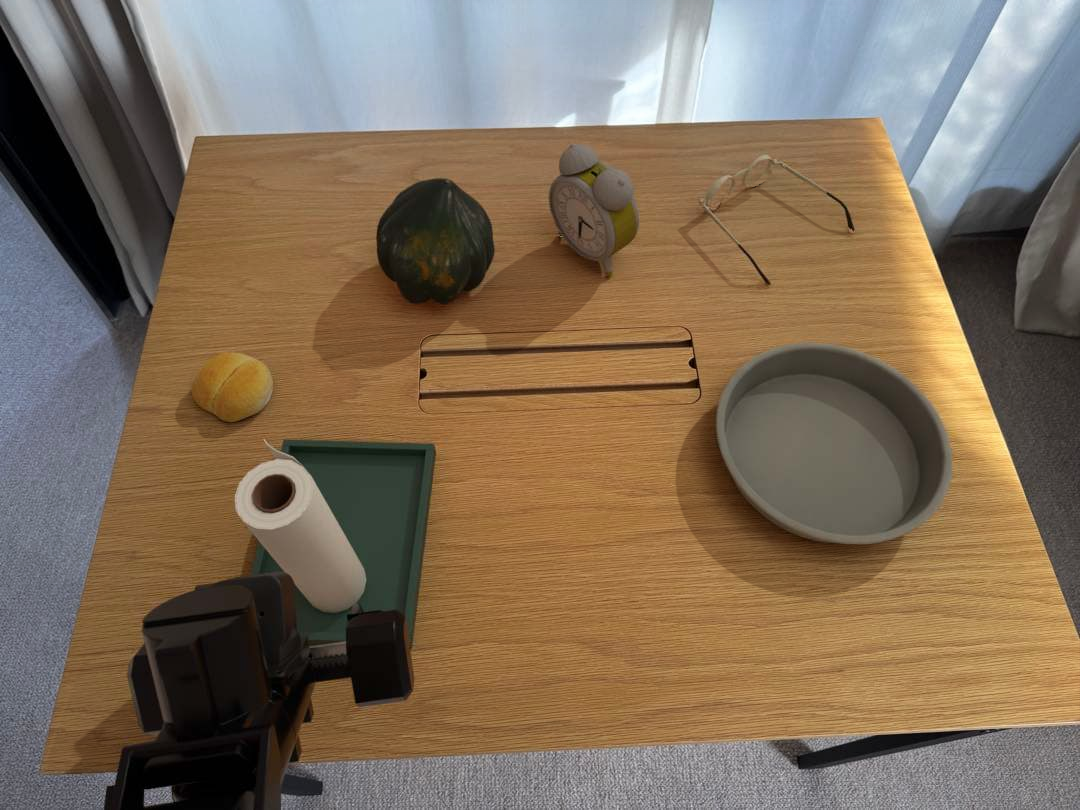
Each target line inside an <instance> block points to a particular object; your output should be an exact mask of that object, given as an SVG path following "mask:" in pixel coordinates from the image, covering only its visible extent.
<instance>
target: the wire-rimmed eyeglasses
mask: <svg viewBox="0 0 1080 810" xmlns="http://www.w3.org/2000/svg"><path fill="white" fill-rule="evenodd" d="M764 160H768V162H767V165H766V168H765V170H764V171H763V173H765V174H767V175H768V177H769V178H770V177H771V176H772V174H773V173H774V171H773V170H772V169H771V166H774V167H781V169H784V170H786V171H787V172H788V173H790V174H792V175H793V176H795V177H797V178H798V179H800V180H802V181H803V182H804V183H806V184H808V185H809V186H811V187H812V188H814V189H816V190H818V191H820V192H821V193H823V194H824V195H827V196H829V197H830V198H831V199H832V200H834V201H836V202H837V203H838V204H839V205H840V206H841V207H842V208H843V209H844V213H845V217H846V223H847V228H848V227H849V228H850V229H852V230H853V231H854V230H855V229H856V228H855V226H854V223H853V220H852V217H851V214H850V212H849V209H848V207H847V205H845V203H844V202H843V201H842V200H841V199H839V198H838V197H836V196H835V195H833V194H832V193H830V192H829V191H827V189H825V188H823V187H822V186H821V185H818V184H817V183H815V182H814V181H812V180H810V179H809V178H808V177H806V176H804V175H803V174H801V173H800V172H798V171H797V170H795V169H794V168H792V167H790V166H789V165H788V164H786V163H784V162H782V161H778V159H777V158H774V159H772V157H771V156H769V155H768V154H762V155H760V156H758V157H757V158H756V159H754V160H753V162H751V163H750V165H749V166H747V168H744V169H742V170H741V171H738V172H737V173H736V174H735V175H734V176H732V175H730V174H727V175H724V176H721V177H720V178H719V179H717V180H715V182H714V183H713V184H712V185H711V186H710V188H709V189H708V191H707V193H706V194H705V197H703V198H701V199H699V200H698V201H697V203H698V204H699V205H700V206H701V205H702V206H701V207H702V209H703V211H705V213H707V215H708V216H709V217H710V218H711V220H713V222H714V223H715V224H716V225H717V226H718V227H719V228H720V229H721V230H722V231H723V232H724V233H725V234H726V235H727V237H729V238H730V239H731V241H733V243H734V244H735V245H736V246H737V247H738V248H739V249H740V250H741V252H743V254H745V256H746V257H747V258H748V259H749V261H750V262H751V263H752V265H753V266H754V268H755V270H756V271H757V272H758V274H759V276H760V277H761V279H762V280H763V281H764V283H765V284H766V285H768V286H771V285H772V283H771V281H770V280H769V279H768V277H766V275H765V274H764V273H763V271H762V270H761V269H760V267H759V265H758V263H756V262H755V259H754V258H753V257H752V256H751V254H750V253H748V251H747V250H746V249H745V248H744V247H743V246H742V245H741V244H740V242H739V241H738V240H737V239H736V238H735V236H734V235H732V233H731V232H730V231H729V230H728V229H727V228H726V227H725V226H724V224H723V223H722V222H721V221H720V220H719V219H718V218H717V217H716V215H715V214H714V213H713V211H711V207H710V206H711V205H710V204H709V203H708V201H709V200H710V201H713V200H714V197H715V196H716V194H717V193H718V191H719V189H720V188H721V187H722V185H723V184H724V183H725V182H726V181H727V180H728V179H731V184H730V187H729V189H728V190H727V192H726V194H727V195H728V196H729V197H730V196H731V194H732V193H734V192H735V191H734V188H735V184H736V177H738V176H739V175H741V174H742V173H743V175H742V178H741V184H742V186H743V185H744V186H748V182H747V181H746V180H747V177H748V175H749V173H750V172H751V170H752V169H753V168H754V167H755V166H756V165H757V164H758V163H759V162H762V161H764ZM744 186H743V187H744ZM855 231H856V230H855Z"/></svg>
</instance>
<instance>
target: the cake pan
mask: <svg viewBox="0 0 1080 810" xmlns="http://www.w3.org/2000/svg"><path fill="white" fill-rule="evenodd" d="M719 397H720V398H719V400H718V404H717V409H716V415H715V416H716V418H715V431H716V438H717V444H718V447H719V450H720V453H721V457H722V459H723V461H724V463H725V466H726V467H727V469H728V471H729V474H730V476H731V479H732V481H733V483H734V484H735V486H736V487H737V489H738V490H739V492H740V493H741V495H742V496H743V497H744V498H745V500H746V502H748V503H749V504H750V505H751V506H752V507H753V509H754V510H756V512H758V513H759V514H760V515H761V516H762V517H764V518H765V519H767V520H768V521H769V522H771V523H772V524H774V525H775V526H777V527H779V528H780V529H782V530H784V531H786V532H788V533H790V534H793V535H795V536H798V537H801V538H803V539H807V540H810V541H815V542H820V543H826V544H846V545H870V544H878V543H879V544H880V543H884V542H887V541H891V540H894V539H898V538H901V537H903V536H905V535H907V534H909V533H911V532H913V531H915V530H916V529H918V528H919V527H920V526H922V525H924V523H926V522H927V521H928V520H930V518H931V517H933V515H934V514H935V513H936V512H937V511H938V510H939V508H940V506H941V505H942V503H943V502H944V500H945V498H946V496H947V494H948V492H949V488H950V485H951V480H952V475H953V467H954V466H953V454H952V447H951V441H950V438H949V434H948V431H947V430H946V427H945V424H944V423H943V420H942V418H941V416H940V415H939V413H938V411H937V410H936V407H934V405H933V404H932V403H931V401H930V399H929V398H927V396H926V394H925V393H923V391H921V389H920V388H919V387H918V386H916V385H915V384H914V383H913V382H912V381H911V380H910V379H909V378H908V377H907V376H905V375H904V374H902V373H901V372H900V371H898V370H897V369H895V367H893V366H891V365H889V364H888V363H886V362H884V361H883V360H881V359H878V358H877V357H875V356H872V355H870V354H867V353H866V352H863V351H860V350H857V349H853V348H851V347H846V346H843V345H839V344H832V343H825V342H797V343H789V344H784V345H780V346H776V347H773V348H770V349H768V350H766V351H763V352H761V353H759V354H757V355H756V356H754V357H752V358H751V359H749V360H748V361H747V362H745V363H744V364H742V365H741V366H740V367H739V368H738V369H737V371H735V373H733V375H732V376H731V377H730V379H729V380H728V381H727V383H726V385H725V386H724V388H723V390H722V392H721V395H720V396H719Z"/></svg>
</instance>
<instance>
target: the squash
mask: <svg viewBox="0 0 1080 810" xmlns="http://www.w3.org/2000/svg"><path fill="white" fill-rule="evenodd" d="M376 227H377V228H376V235H375V239H376V241H375V242H376V255H377V261H378V264H379V267H380V269H381V270H382V272H383V274H384V275H385V277H387V279H389V280H390V281H392V282H394V283H396V286H397V288H398V291H399V293H400V294H401V296H402V297H403V299H405V300H406V301H407V302H408V303H410V304H413V305H420V304H424V303H426V302H428V301H430V300H432V301H433V302H434V303H436V304H438V305H441V306H445V305H448V304H451V303H453V302H454V301H455V300H457V298H458V297H459V296H460V295H461V294H462V293H463V292H470V291H473V290H476V288H477V287H479V286H480V285H481V284H482V282H483V281H484V279H485V277H486V273H487V272H488V270H489V269H490V267H491V264H492V262H493V260H494V257H495V251H496V250H495V242H494V232H493V231H494V230H493V225H492V221H491V219H490V217H489V215H488V214H487V212H486V210H485V209H484V207H483V205H482V204H481V203H480V202H479V201H478V200H477V199H475V198H474V197H473V196H471V194H469V193H467V192H466V191H465V190H464V189H462V188H461V187H460V186H459V185H458V184H456V182H455V181H453V180H451V179H449V178H441V177H438V178H436V177H435V178H430V179H424V180H421V181H420V180H419V181H418V182H415V183H412V184H411V185H409V186H407V187H406V188H404V189H403V190H401V192H399V193H398V194H397V195H396V197H395V198H394V200H393V201H392V203H391V204H390V205H389V206H388V207H387V208H386V209H385V210H384V212H383V213H382V215H381V217H380V218H379V221H378V223H377V226H376Z"/></svg>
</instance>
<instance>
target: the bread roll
mask: <svg viewBox="0 0 1080 810" xmlns="http://www.w3.org/2000/svg"><path fill="white" fill-rule="evenodd" d="M191 383H192V384H191V395H192V396H191V397H192V399H193V400H194V402H195V403H196V404H197V406H199V407H201V409H203V410H205V411H207V412H209V413H212V414H214V415H215V416H216V417H217V418H218V419H220V420H222V421H224V422H227V423H235V422H238V421H241V420H244V419H246V418H249V417H251V416H253V415H256V414H258V413H260V412H262V410H264V408H265V407H266V406H267V405H268V404H269V402H270V399H271V398H272V395H273V391H274V379H273V376H272V374H271V371H270V369H269V368H268V366H267V365H266V364H265V363H264V362H263V361H261V360H259V359H256V358H254V357H252V356H249V355H247V354H245V353H242V352H233V351H228V352H227V351H226V352H222V353H219V354H217V355H215V356H213V357H211V358H210V359H208V361H206V362H205V363H204V364H203V366H202V367H200V369H198V371H197V372H196V373H195V374H194V376H193V378H192V380H191Z"/></svg>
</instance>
